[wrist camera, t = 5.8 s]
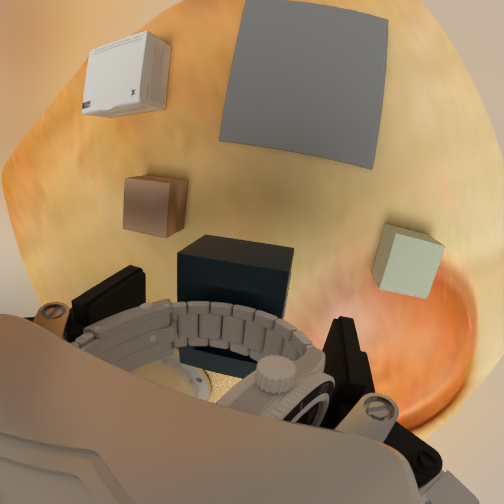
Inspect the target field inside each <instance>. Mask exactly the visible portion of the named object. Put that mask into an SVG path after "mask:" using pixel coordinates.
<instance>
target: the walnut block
mask: <svg viewBox="0 0 504 504" xmlns="http://www.w3.org/2000/svg"><path fill="white" fill-rule="evenodd" d="M187 189H188V180H183V179H176V178H168V177H159V176H151V175H143V176H136V177H129V178H125V188H124V210H123V229H126V230H131V231H135V232H140V233H144V234H149V235H153V236H158V237H162V238H167V237H169V236H171V235H173V234H175V233H176V232H178V231H180V230H182V229H184V220H185V209H186V198H187Z"/></svg>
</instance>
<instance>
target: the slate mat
mask: <svg viewBox="0 0 504 504" xmlns="http://www.w3.org/2000/svg"><path fill="white" fill-rule="evenodd" d="M387 42H388V20H387V19H384V18H380V17H377V16H373V15H369V14H365V13H361V12H357V11H353V10H348V9H343V8H338V7H332V6H327V5H320V4H313V3H306V2H296V1H285V0H246V2H245V6H244V10H243V15H242V19H241V24H240V28H239V33H238V37H237V42H236V47H235V52H234V57H233V62H232V67H231V72H230V77H229V83H228V88H227V94H226V100H225V105H224V111H223V117H222V123H221V129H220V136H219V141H225V142H233V143H241V144H248V145H255V146H262V147H268V148H274V149H280V150H286V151H292V152H297V153H302V154H307V155H312V156H317V157H322V158H326V159H331V160H335V161H340V162H344V163H348V164H352V165H356V166H360V167H364V168H368V169H372V168H373V162H374V157H375V151H376V145H377V139H378V132H379V126H380V119H381V111H382V103H383V94H384V84H385V73H386V60H387Z"/></svg>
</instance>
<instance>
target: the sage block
mask: <svg viewBox="0 0 504 504" xmlns="http://www.w3.org/2000/svg"><path fill="white" fill-rule="evenodd" d="M444 248H445V246H444V245H442V244H441V243H440V242H438V241H437V240H435V239H434V238H433V237H431V236H430V235H427V234H423V233H420V232H416V231H412V230H409V229H405V228H401V227H397V226H393V225H389V224H384V228H383V232H382V236H381V240H380V244H379V247H378V251H377V255H376V258H375V262H374V265H373V268H372V272H371V273H372V275H373V277H374V280H375V282H376V284H377V286H378V288H379V289H381V290H385V291H390V292H395V293H400V294H405V295H410V296H415V297H420V298H425V299H427V297H428V294H429V292H430V289H431V286H432V284H433V281H434V278H435V275H436V272H437V270H438V267H439V264H440V260H441V257H442V254H443V251H444Z"/></svg>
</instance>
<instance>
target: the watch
mask: <svg viewBox="0 0 504 504" xmlns="http://www.w3.org/2000/svg"><path fill="white" fill-rule="evenodd" d="M293 253H294V248H291V247H284V246H278V245H271V244H265V243H258V242H252V241H245V240H238V239H232V238H225V237H218V236H211V235H204V236H202V237H201V238H199V239H198V240H196V241H195V242H193V243H192V244H190V245H189V246H187V247H186V248H184V249H182V250H181V251H179V252H178V253H177V302H175V303H171V302H170V299H166V300H161V301H157V302H153V303H144V304H141V305H140V306H138V307H135V308H132V309H128V310H125V311H123V312H120V313H117V314H115V315H112V316H110V317H107V318H105V319H103V320H100V321H98V322H96V323H94V324H92V325H90V326H88V327H86V328H84V330H83V335H81V336H80V337H78V338H77V339H76V340H75V342H72V343H71V344H73V345H75V346H77V347H78V348H80V349H82V350H84V351H86V352H88V353H90V354H92V355H94V356H96V357H98V358H100V359H102V360H104V361H106V362H108V363H110V364H112V365H115V366H117V367H119V368H121V369H123V370H126V371H128V372H131V371H133V370H135V369H137V368H139V367H141V366H144V365H146V364H148V363H151V362H153V361H156V360H158V359H161V358H164V357H167V356H170V355H173V354H174V348H176V347H179V358H180V363H182V364H186V365H190V366H193V367H197V368H201V369H204V370H208V371H212V372H216V373H220V374H225V375H229V376H233V377H238V378H242V380H241V381H240V382H239V383H237V384H236V385H235V386H234V387H233V388H231V389H230V390H229V391H228V392H227V393H226V394H225V395H224V396H223V397H222V398H221V399H219V400H218V402H217V403H216V404H219V405H222V406H225V407H229V408H233V409H236V410H240V411H244V412H248V413H252V414H256V415H260V416H265V417H269V418H274V419H279V420H284V421H289V422H294V423H300V424H305V425H311V426H316V427H319V426H320V424H321V422H322V420H323V418H324V416H325V414H326V412H327V410H328V407H329V405H330V403H331V400H332V397H333V393H334V387H335V381H334V378H333V377H331V376H329V375H327V374H325V373H323V371H324V367H325V354H324V352H323V351H321V350H319V349H317V348H316V347H315V346H314V345H312V341H311V340H310V339H309V338H308V337H307V336H306V335H304V334H303V333H302V332H301V331H299V330H297V329H296V327H294V326H293V325H291V324H290V323H288V322H286V321H284V320H283V319H284V318H283V317H284V313H285V307H286V302H287V296H288V289H289V284H290V278H291V266H292V260H293Z"/></svg>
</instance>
